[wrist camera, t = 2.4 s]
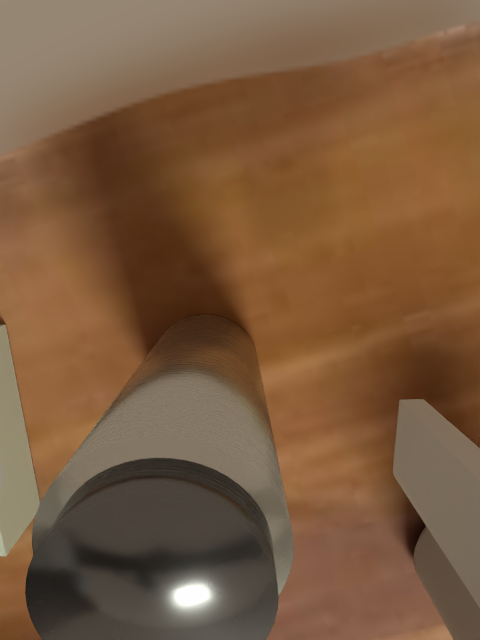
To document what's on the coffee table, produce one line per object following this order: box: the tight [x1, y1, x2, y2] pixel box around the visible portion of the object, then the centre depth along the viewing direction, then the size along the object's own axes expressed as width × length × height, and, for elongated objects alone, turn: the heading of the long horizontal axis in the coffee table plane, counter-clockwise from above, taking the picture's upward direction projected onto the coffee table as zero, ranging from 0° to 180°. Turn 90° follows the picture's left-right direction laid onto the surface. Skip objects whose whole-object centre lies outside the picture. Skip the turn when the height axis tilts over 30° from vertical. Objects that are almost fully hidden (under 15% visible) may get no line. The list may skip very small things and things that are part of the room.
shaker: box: [25, 314, 294, 640], centre depth 12 cm, size 6×6×12 cm
